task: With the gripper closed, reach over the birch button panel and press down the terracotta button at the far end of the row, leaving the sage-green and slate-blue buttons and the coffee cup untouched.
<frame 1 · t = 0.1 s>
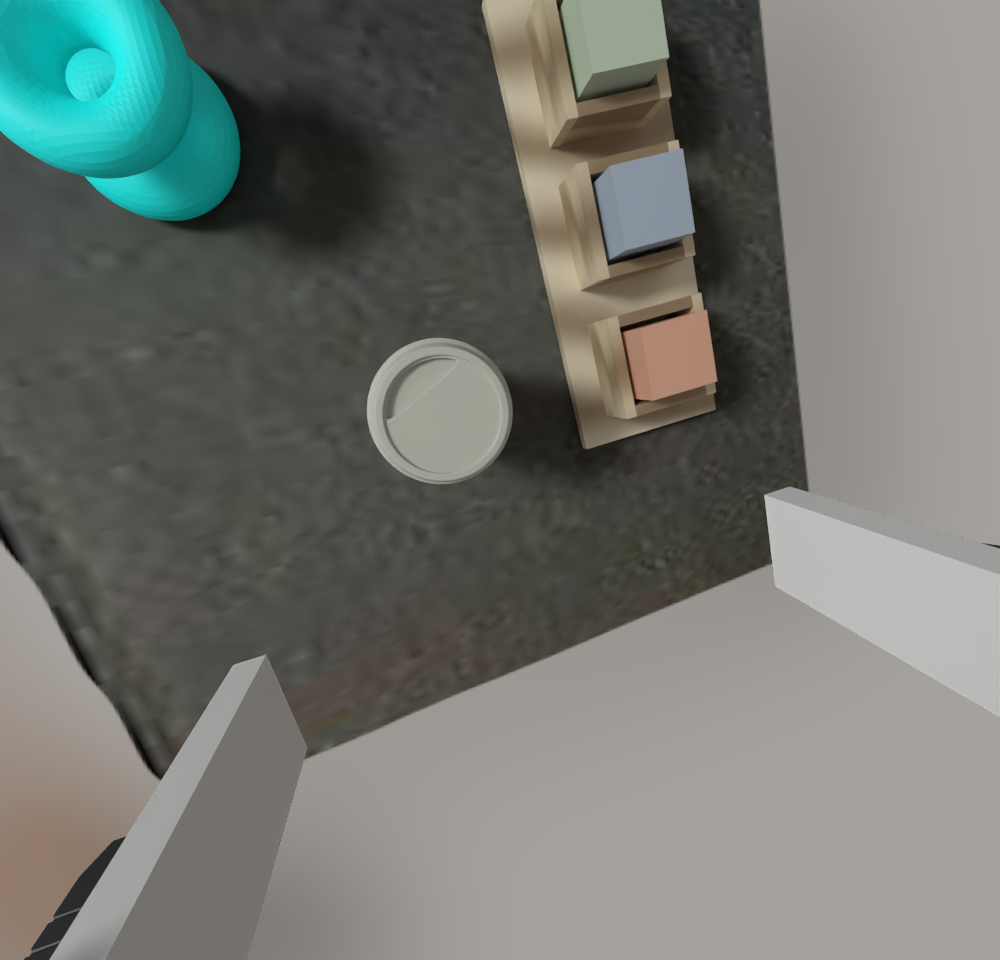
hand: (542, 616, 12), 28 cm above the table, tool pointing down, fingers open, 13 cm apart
donuts: (166, 145, 32), on the table
button panel: (609, 232, 37), on the table
slate button: (639, 210, 32), point 5 cm above the table, slide at 0.0 cm
terracotta button: (665, 356, 35), point 5 cm above the table, slide at 0.0 cm
sage button: (609, 39, 30), point 5 cm above the table, slide at 0.0 cm
coffee cup: (434, 403, 38), on the table
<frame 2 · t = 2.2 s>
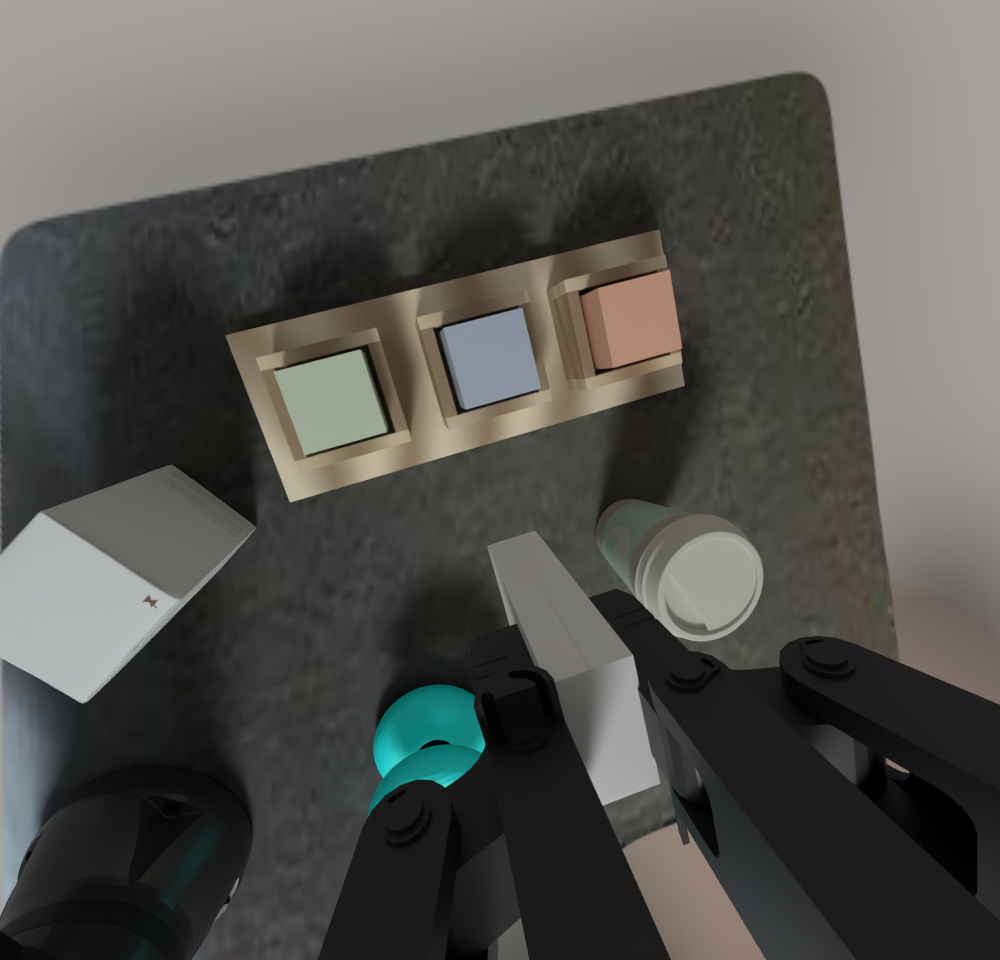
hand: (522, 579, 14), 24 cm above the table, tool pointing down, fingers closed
donuts: (433, 727, 42), on the table
button panel: (476, 363, 36), on the table
slate button: (488, 360, 31), point 5 cm above the table, slide at 0.0 cm
terracotta button: (627, 322, 33), point 5 cm above the table, slide at 0.0 cm
sage button: (336, 401, 30), point 5 cm above the table, slide at 0.0 cm
supplement box: (183, 530, 35), on the table
coffee cup: (625, 530, 42), on the table
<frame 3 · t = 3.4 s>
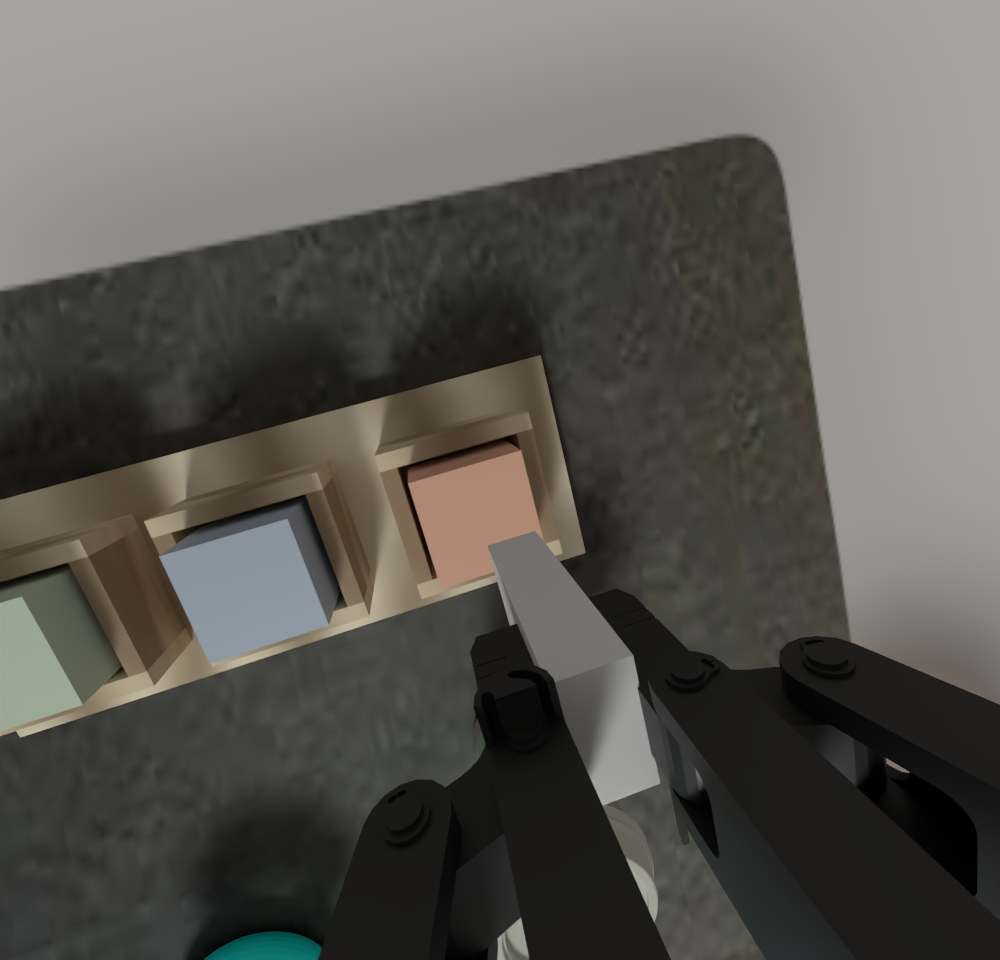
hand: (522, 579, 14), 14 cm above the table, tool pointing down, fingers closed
button panel: (289, 536, 27), on the table
slate button: (262, 573, 22), point 5 cm above the table, slide at 0.0 cm
terracotta button: (474, 508, 23), point 5 cm above the table, slide at 0.0 cm
sage button: (24, 645, 20), point 5 cm above the table, slide at 0.0 cm
coffee cup: (515, 725, 32), on the table
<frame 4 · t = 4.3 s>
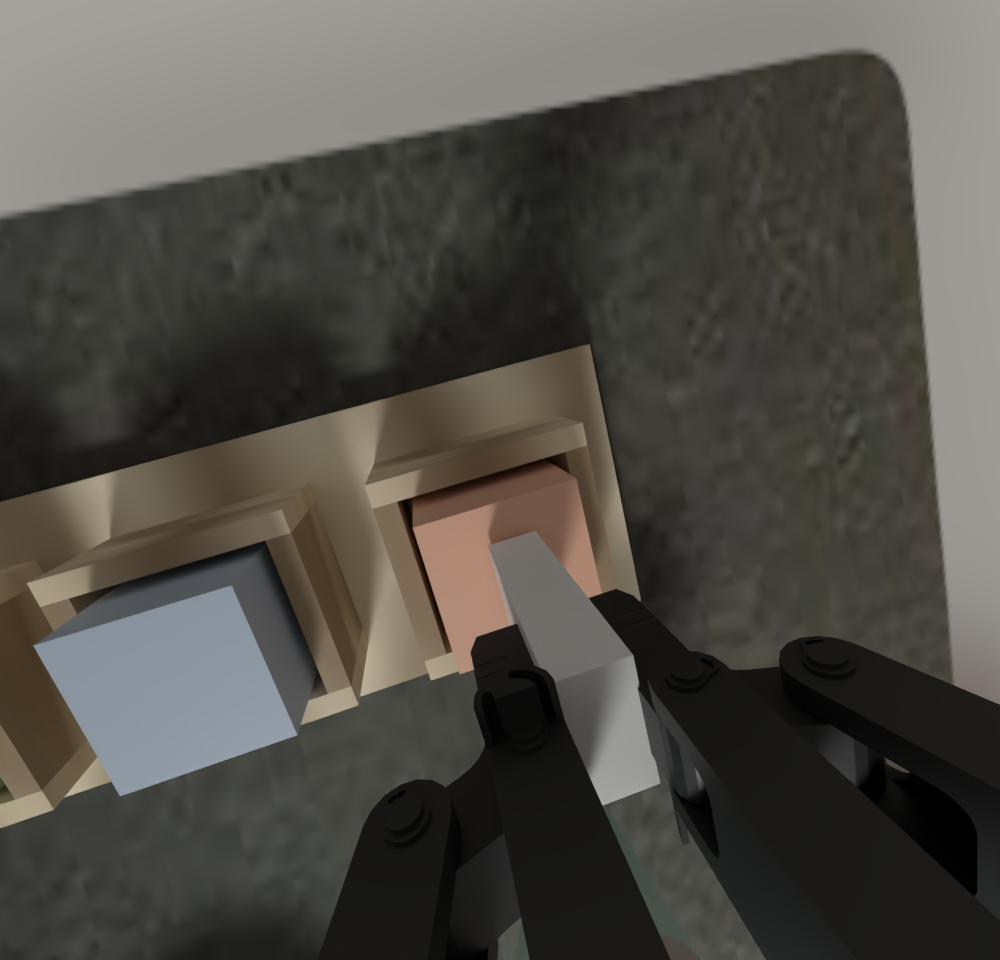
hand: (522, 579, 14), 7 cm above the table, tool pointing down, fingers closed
button panel: (256, 584, 20), on the table
slate button: (204, 653, 15), point 5 cm above the table, slide at 0.0 cm
terracotta button: (504, 555, 16), point 5 cm above the table, slide at 0.2 cm, touching gripper
coffee cup: (546, 810, 26), on the table
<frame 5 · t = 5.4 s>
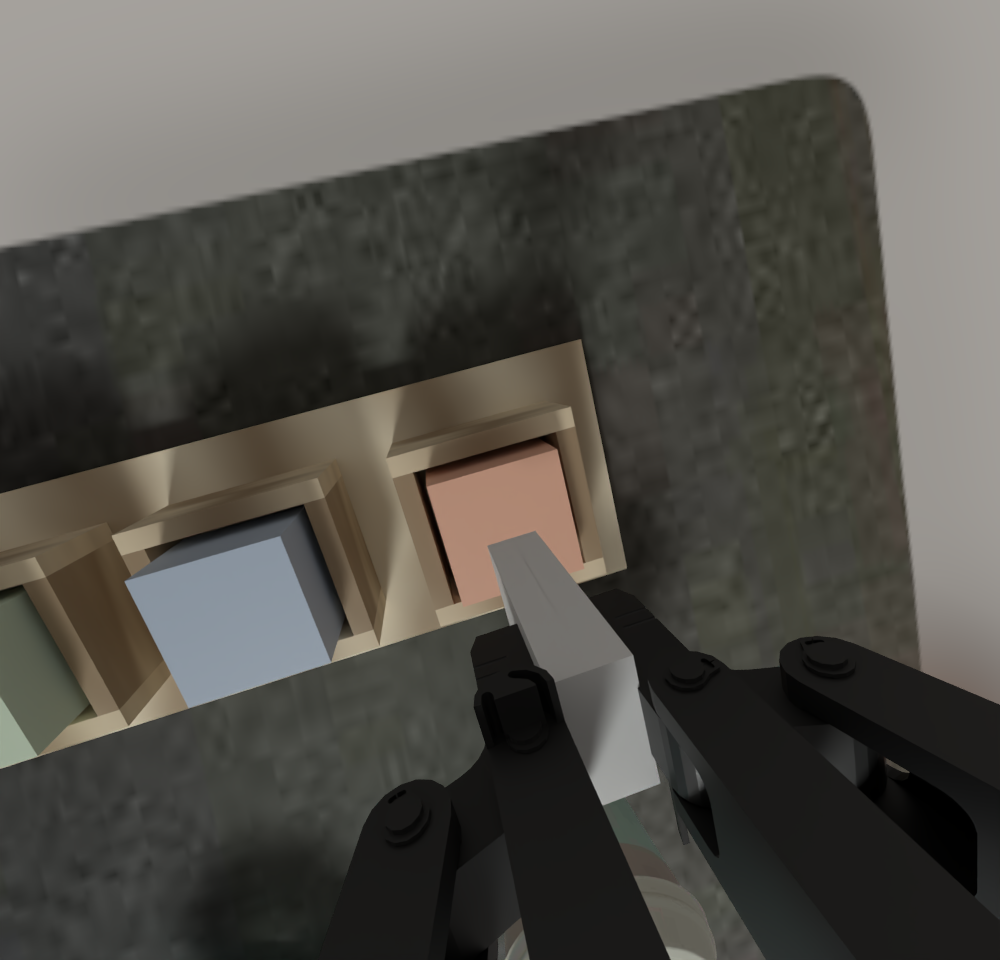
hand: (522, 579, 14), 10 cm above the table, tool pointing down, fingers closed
button panel: (289, 548, 23), on the table
slate button: (253, 597, 18), point 5 cm above the table, slide at 0.0 cm
terracotta button: (500, 514, 20), point 4 cm above the table, slide at 1.0 cm
coffee cup: (542, 758, 29), on the table
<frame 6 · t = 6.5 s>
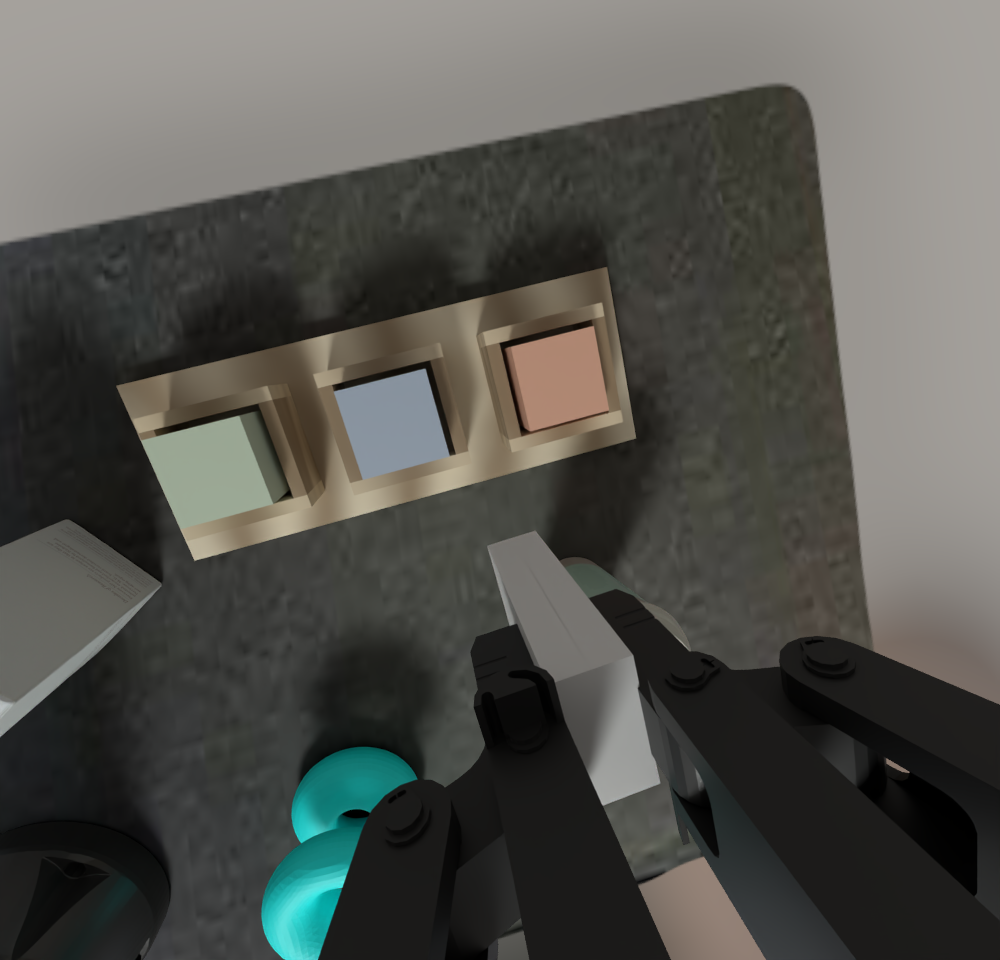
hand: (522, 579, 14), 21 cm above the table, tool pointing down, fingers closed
donuts: (361, 787, 40), on the table
button panel: (400, 413, 33), on the table
slate button: (395, 421, 28), point 5 cm above the table, slide at 0.0 cm
terracotta button: (552, 378, 30), point 4 cm above the table, slide at 1.0 cm
sage button: (224, 465, 27), point 5 cm above the table, slide at 0.0 cm
supplement box: (85, 586, 33), on the table
coffee cup: (570, 589, 38), on the table
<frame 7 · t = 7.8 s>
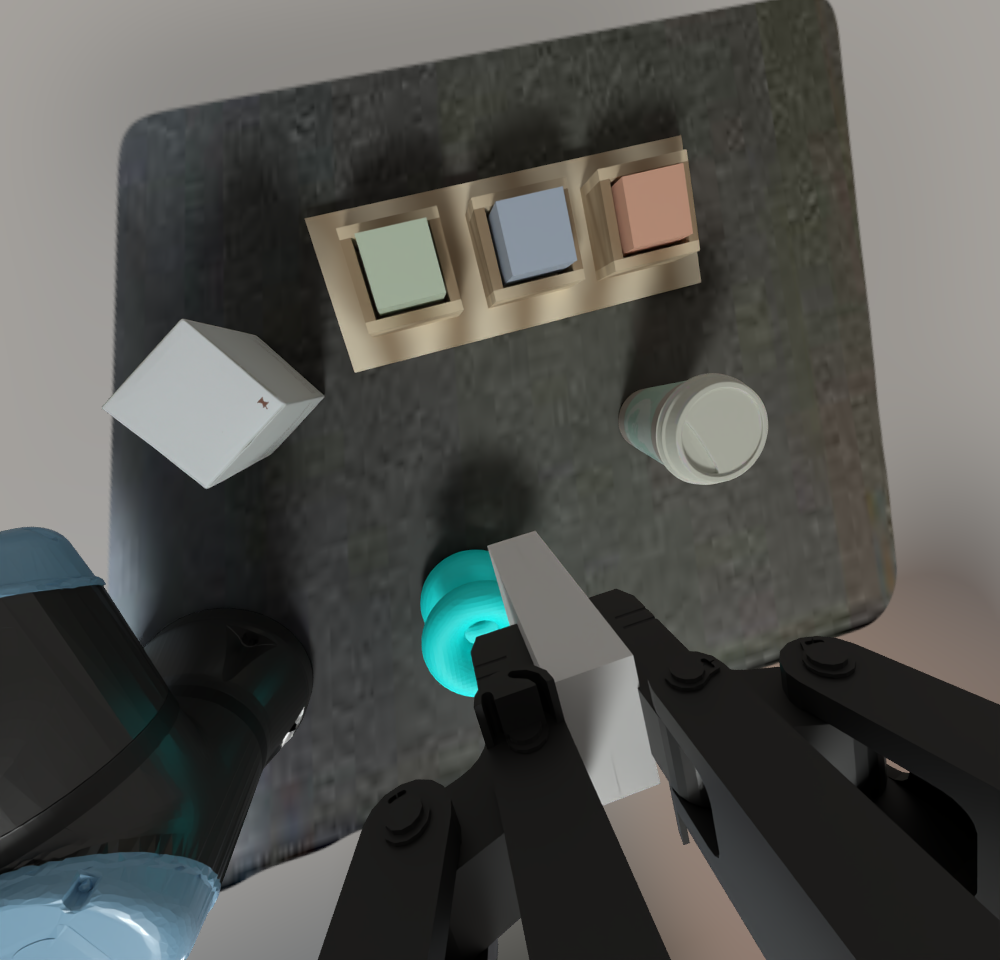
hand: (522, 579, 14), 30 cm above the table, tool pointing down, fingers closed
donuts: (471, 592, 47), on the table
button panel: (516, 255, 41), on the table
slate button: (530, 239, 36), point 5 cm above the table, slide at 0.0 cm
terracotta button: (646, 214, 38), point 4 cm above the table, slide at 1.0 cm
sage button: (402, 270, 35), point 5 cm above the table, slide at 0.0 cm
supplement box: (262, 396, 40), on the table
coffee cup: (645, 418, 47), on the table
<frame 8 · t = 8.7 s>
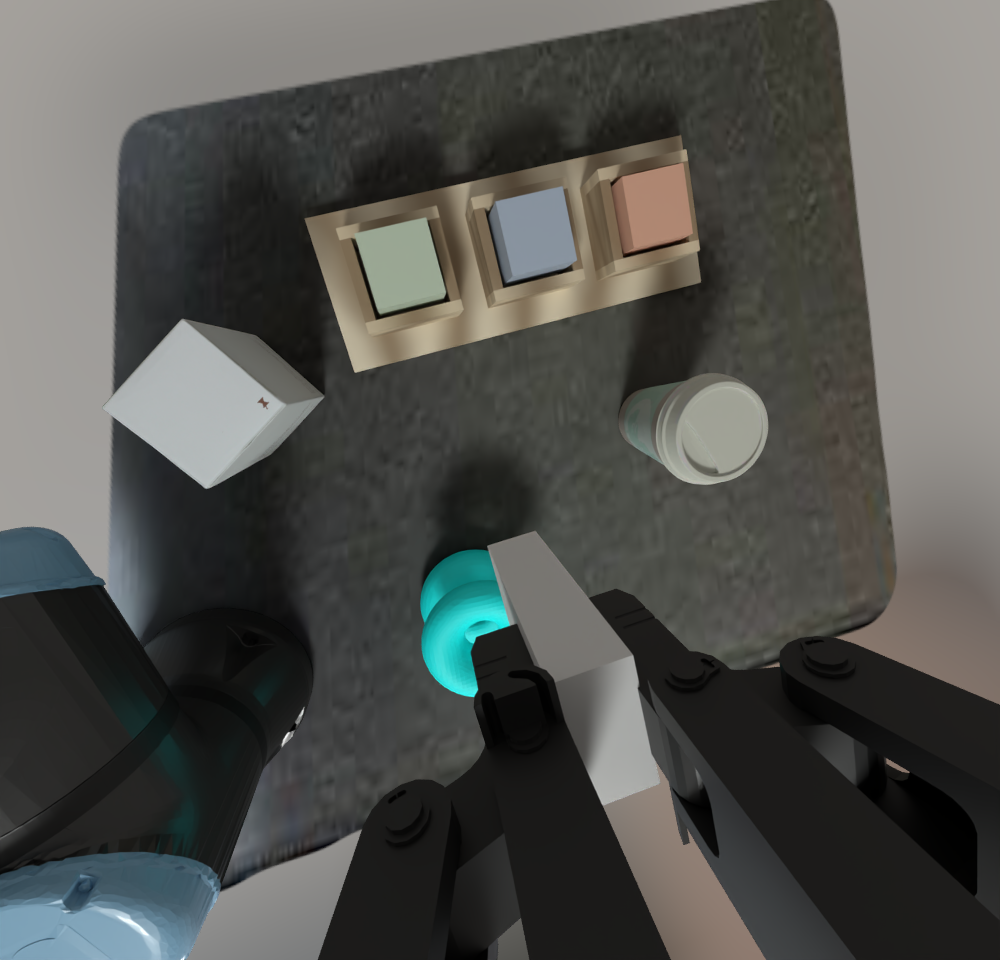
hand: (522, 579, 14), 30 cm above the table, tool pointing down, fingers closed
donuts: (471, 592, 47), on the table
button panel: (516, 255, 41), on the table
slate button: (530, 239, 36), point 5 cm above the table, slide at 0.0 cm
terracotta button: (646, 214, 38), point 4 cm above the table, slide at 1.0 cm
sage button: (402, 270, 35), point 5 cm above the table, slide at 0.0 cm
supplement box: (262, 396, 40), on the table
coffee cup: (645, 418, 47), on the table
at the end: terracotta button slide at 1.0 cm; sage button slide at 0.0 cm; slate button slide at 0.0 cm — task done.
